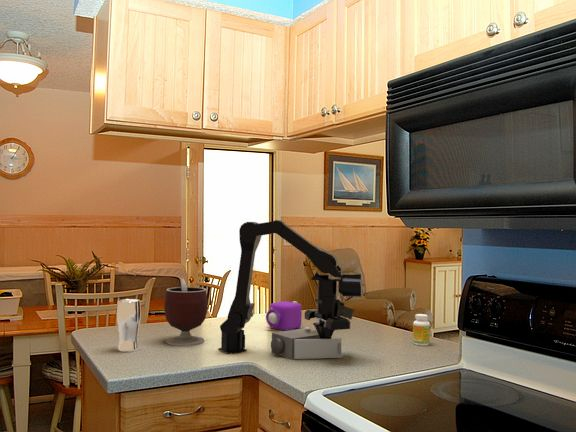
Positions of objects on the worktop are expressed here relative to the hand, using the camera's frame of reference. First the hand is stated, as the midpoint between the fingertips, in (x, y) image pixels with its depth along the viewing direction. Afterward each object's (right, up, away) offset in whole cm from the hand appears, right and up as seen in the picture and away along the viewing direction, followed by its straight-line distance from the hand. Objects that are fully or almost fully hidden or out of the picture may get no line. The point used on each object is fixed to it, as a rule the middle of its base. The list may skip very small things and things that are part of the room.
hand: (326, 348), depth 166 cm
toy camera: (-13, -3, +41) cm, 44 cm away
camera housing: (-8, -2, +4) cm, 10 cm away
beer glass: (-60, -2, +4) cm, 60 cm away
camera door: (-3, -2, -3) cm, 5 cm away
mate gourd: (-45, -2, +17) cm, 48 cm away
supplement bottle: (+33, -4, +20) cm, 39 cm away
